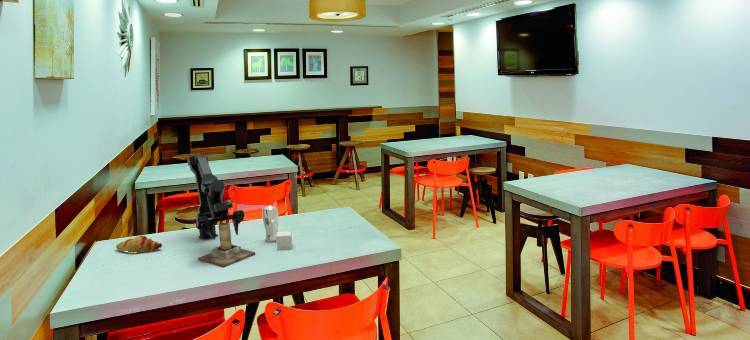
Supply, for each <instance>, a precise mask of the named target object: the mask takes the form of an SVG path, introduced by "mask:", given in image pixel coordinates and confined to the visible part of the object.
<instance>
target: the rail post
mask: <svg viewBox="0 0 750 340" xmlns="http://www.w3.org/2000/svg"><path fill="white" fill-rule="evenodd" d="M218 236H219V243H220V244H219V246H220V247H221V251H224V252H225V251H228V250H231V249H232V245H233V244H232V243H233V242H232V234H231V224H230V223H229V222H221V223H218Z"/></svg>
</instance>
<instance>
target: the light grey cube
mask: <svg viewBox="0 0 750 340" xmlns="http://www.w3.org/2000/svg"><path fill="white" fill-rule="evenodd" d="M292 237H293V236H292V230H290V231H278V232H277V236H276V239H277V241H276V250H279V251H281V250H289V249H290V250H292V248H293V240H292Z"/></svg>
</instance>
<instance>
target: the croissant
mask: <svg viewBox="0 0 750 340" xmlns="http://www.w3.org/2000/svg"><path fill="white" fill-rule="evenodd" d="M162 246H163V243H162V242H158V241H155V240H152V238H148V237H147V236H146V235H139V236H136V237H133V238H128V239H126V240H125V241H121V242H119V243H117V244H116V245H115V248H116V249H117V250H118V249H119V250H118V251H120V250H121V251H120V252H123V251H128V252H141V253H145V252H144V251H148V252H152V251H151V250H154V251H157V250H159V249H161V248H162Z"/></svg>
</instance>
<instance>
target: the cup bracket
mask: <svg viewBox="0 0 750 340" xmlns="http://www.w3.org/2000/svg"><path fill="white" fill-rule="evenodd" d="M253 256H256V252H255V251H252V250H247V249H245V248H241V246H239V245H237V244H232V249H231V250H228V251H225V252H224V251H221V247H220V245H219V246H217V247H214V248H212V249H211V252H210V253H206V254H204V255H201V256H199V257H197V260H198V261H202V262H204V263H207V264H210V265H214V266H218V267H221V268H225V267H228V266H230V265H233V264H236V263H238V262H241V261H243V260H246V259H248V258H250V257H253Z"/></svg>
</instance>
